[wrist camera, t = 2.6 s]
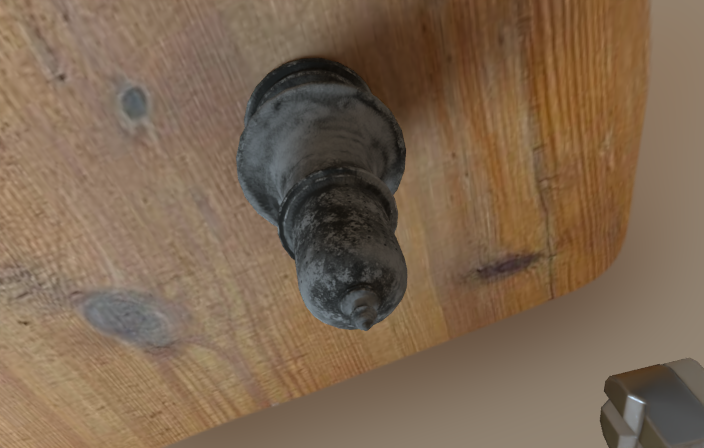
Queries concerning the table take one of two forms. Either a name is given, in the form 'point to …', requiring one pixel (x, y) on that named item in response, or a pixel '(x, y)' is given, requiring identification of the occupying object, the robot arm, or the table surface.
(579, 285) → the table surface
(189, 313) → the table surface
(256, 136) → the chess piece
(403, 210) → the table surface
